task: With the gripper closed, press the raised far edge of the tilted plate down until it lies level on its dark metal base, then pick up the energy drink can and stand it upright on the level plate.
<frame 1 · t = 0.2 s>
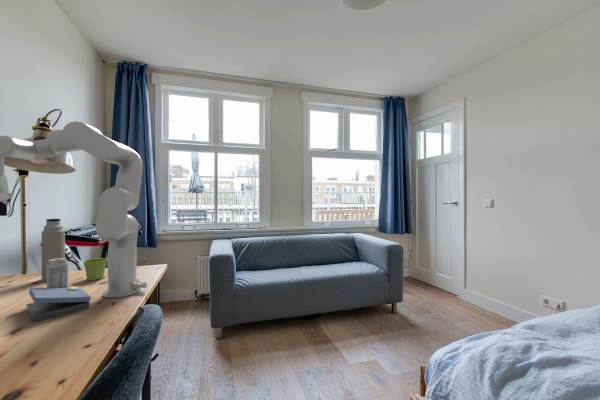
tribrach base: (58, 308, 90), on the table
thermos bottle: (53, 279, 123), on the table
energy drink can: (57, 299, 99), on the table
plant pot: (95, 279, 124), on the table
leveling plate: (60, 293, 91), point 5 cm above the table, hinge at 15.0°
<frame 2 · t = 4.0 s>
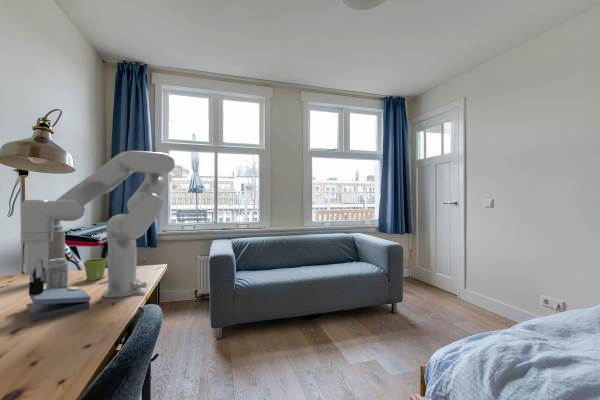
hand: (36, 293, 86), 7 cm above the table, tool pointing down, fingers closed
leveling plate: (60, 294, 90), point 5 cm above the table, hinge at 13.3°, touching gripper
everything else where it was.
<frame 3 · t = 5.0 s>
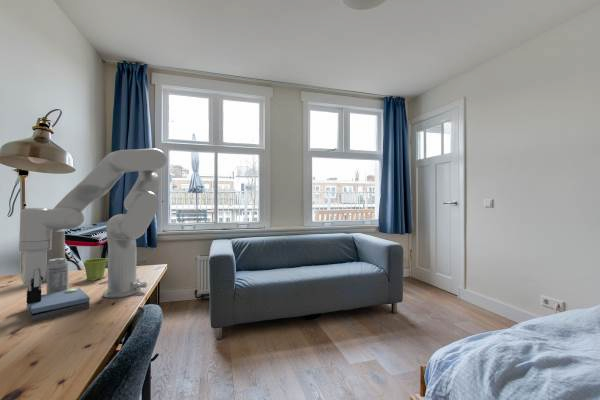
hand: (33, 302, 85), 4 cm above the table, tool pointing down, fingers closed
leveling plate: (58, 298, 90), point 4 cm above the table, hinge at 2.1°, touching gripper
everything else where it was.
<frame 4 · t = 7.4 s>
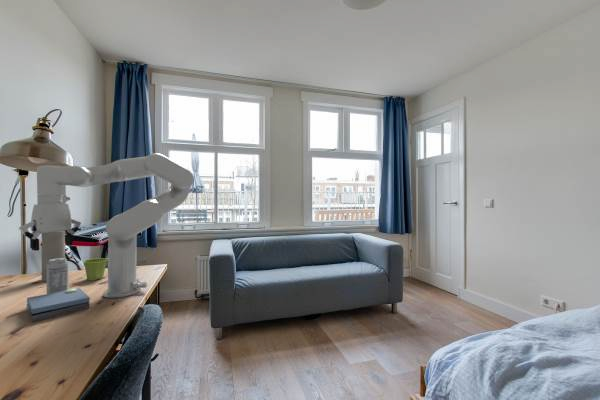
hand: (52, 247, 95), 20 cm above the table, tool pointing down, fingers open, 9 cm apart
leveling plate: (58, 298, 90), point 3 cm above the table, hinge at 1.7°
everything else where it was.
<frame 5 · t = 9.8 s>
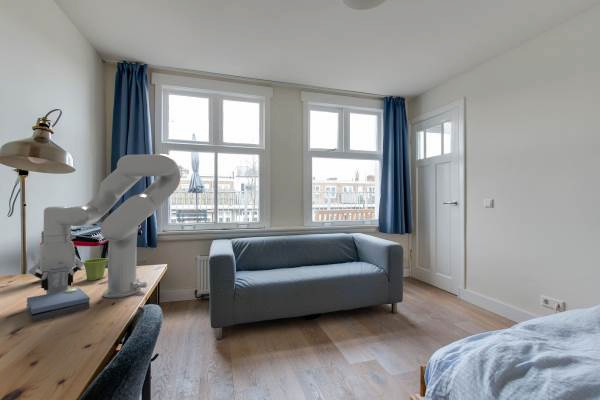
hand: (57, 286, 99), 5 cm above the table, tool pointing down, fingers closed on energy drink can, 6 cm apart
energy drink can: (57, 299, 99), on the table, touching gripper
everything else where it was.
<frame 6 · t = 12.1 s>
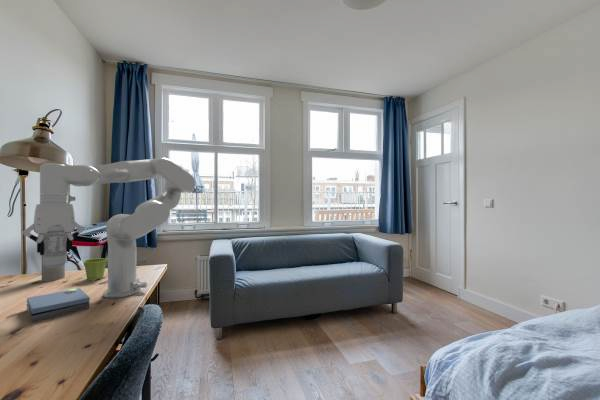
hand: (55, 252, 89), 20 cm above the table, tool pointing down, fingers closed on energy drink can, 6 cm apart
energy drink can: (54, 266, 90), point 15 cm above the table, touching gripper
everything else where it was.
when the fingers open (9 cm above the table, at t = 14.7 s): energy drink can stays where it is, resting on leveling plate.
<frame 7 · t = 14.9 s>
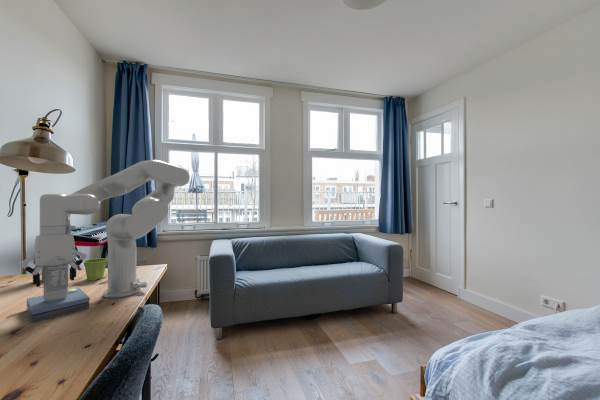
hand: (55, 282, 88), 10 cm above the table, tool pointing down, fingers open, 8 cm apart
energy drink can: (55, 300, 89), point 4 cm above the table, touching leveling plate
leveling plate: (58, 299, 90), point 3 cm above the table, hinge at 0.6°, touching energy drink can
everything else where it was.
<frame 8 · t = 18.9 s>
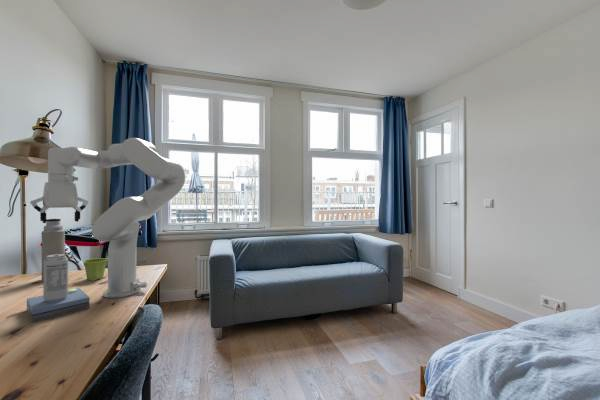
hand: (61, 222, 105), 28 cm above the table, tool pointing down, fingers open, 9 cm apart
nothing on the table moved.
at the end: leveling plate at +1° (first picture: +15°); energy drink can 0.1 cm from the target spot on the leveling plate, point 1.4 cm above the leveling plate's base; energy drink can tilted 1° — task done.
